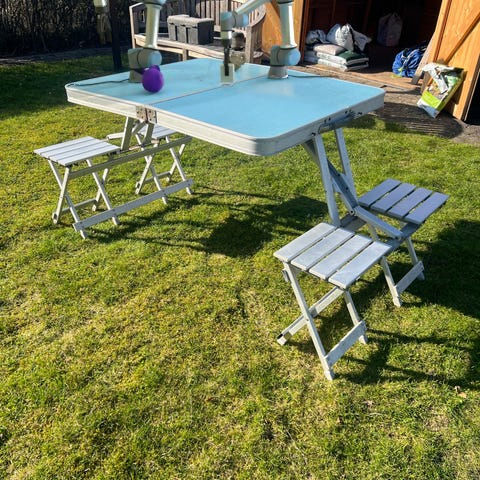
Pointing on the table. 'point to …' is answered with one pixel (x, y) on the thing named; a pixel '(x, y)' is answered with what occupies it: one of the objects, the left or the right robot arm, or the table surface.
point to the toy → (152, 79)
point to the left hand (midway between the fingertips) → (106, 42)
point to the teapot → (237, 60)
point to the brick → (231, 73)
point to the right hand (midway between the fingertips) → (227, 74)
